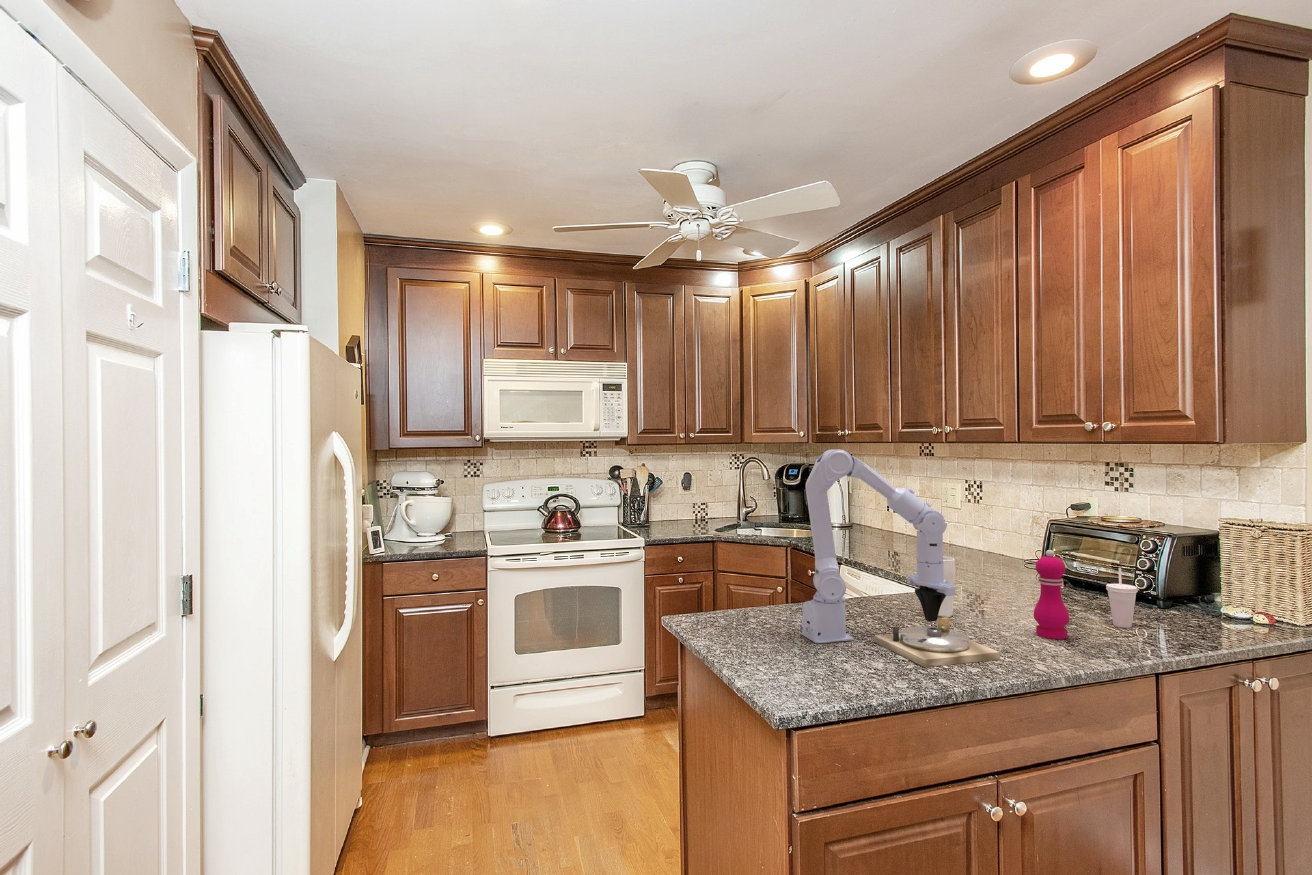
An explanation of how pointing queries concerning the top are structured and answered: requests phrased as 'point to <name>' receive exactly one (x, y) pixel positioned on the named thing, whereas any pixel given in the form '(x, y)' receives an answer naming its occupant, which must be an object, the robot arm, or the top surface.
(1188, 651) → the top surface
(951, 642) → the flange disc
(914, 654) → the base plate
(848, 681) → the top surface
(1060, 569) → the pepper mill
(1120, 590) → the smoothie
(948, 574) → the drinking glass
